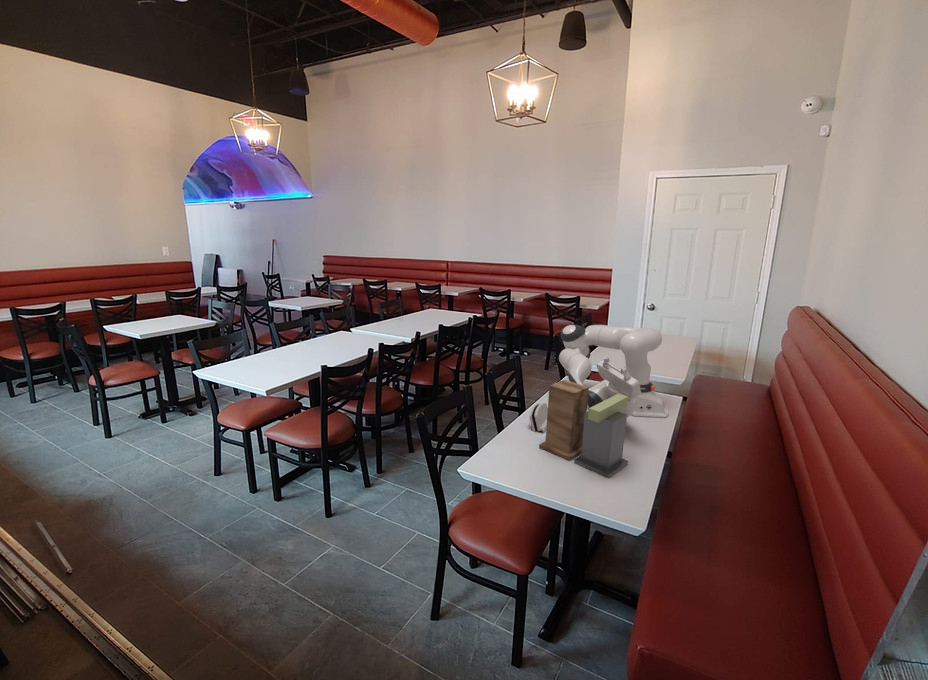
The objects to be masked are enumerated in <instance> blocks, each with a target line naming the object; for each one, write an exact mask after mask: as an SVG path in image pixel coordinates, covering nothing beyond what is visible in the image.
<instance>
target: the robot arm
mask: <svg viewBox="0 0 928 680" xmlns="http://www.w3.org/2000/svg"><path fill="white" fill-rule="evenodd" d="M560 338H561V341H562V342H563V343H562V344H563V345H564V349H563V350H561V352H559V355H558V361H559V362H560V364H561V365H562V367H563V368H564V370H566V371H567V372H568V374H567V378H568V381H570V382H573V383H577V384H580V385H584V384H583V383H584V381H586V379H587V378H588V377H590V374H591V372H592V370H593V369H592V362H591V360H590V358H591V353H592V352H591V349H590V347H589V346H597V347H598V348H599V347H600V348H606V349H610V350H616V351H618V350H620V351H621V352H622V354H623V355H624V360H625V367H624V366H623V367H621V368H620V369H619V368H617V367H615V366H614V365H612V364H611V363H610V361H611V360H610V358H609V357H607V356H605V357H603V359H602V360H600V361H599V362H597V364H596V368H597V371H598V374H599V376H600V377H601V379H603V380H601V381H599V383H597V384H595V385H594V386H591V387H589V391H588V402H587V411H589V408H591V407H593V406H595V405H597V404H599V403H601V402H603V401H605V400H607V399H609V398H611V397H613V396H615V395H617V394H621V395H625V396H628V404H627V407H626V408H624V409H622V410H620V411H618V412H621V413H624V414H627V418H628V417H630V416H634V417H644V418H645V417H646V418H649V417H650V418H667V417H668V416H669V410H668V409H667V407H666V406H665V405H664V400H663V398H662V397H661V396H660V395H659V394H658V393H656V392H655V390H656V387H655V385H654V384H653V383H652V381H650V379H651V378H650V377H651V372H652V371H651V369H652V367H651V365H650V363H649V360H648V353H650V352H652V351H655V350H656V349H658V348H659V347H660V346H661V344H662V342H663V336H662V335H661V332H660V331H658V330H657V329H656V328H655V329H654V328H647V327H646V328H645V327H630V326H629V327H628V326H627V327H625V326H623V327H622V326H616V325H615V326H614V325H606V324H592V325H588V326H587V327H586V328H585V327H584V326H583V325H578V324H571V323H570V324H568V325H565V326H564V327H563V328H562V329H561V330H560Z"/></svg>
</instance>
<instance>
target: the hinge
mask: <svg viewBox="0 0 928 680" xmlns="http://www.w3.org/2000/svg"><path fill="white" fill-rule="evenodd" d="M547 413H548V403H546V402H545V403H544V402H542V403H541V402H540V403H538V404H535V405H534V406H532V407H531V410H530V412H529V416H528V417H529V421H530V424H531V429H532V432H536V431H537V432H542V434H546V428H547Z"/></svg>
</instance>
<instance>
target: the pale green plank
mask: <svg viewBox="0 0 928 680" xmlns="http://www.w3.org/2000/svg"><path fill="white" fill-rule="evenodd" d="M627 404H628V396H625V395H621V394H617V395H615V396H613V397H611V398H609V399H607V400H605V401H603V402H601V403H599V404H597V405H595V406H593V407H591V408H589V410H588V411H589V413H588V419H589V420H592V421H595V422H598V423H599V422H600V421H602V420H604V419H606V418H608V417H609V416H611V415H613V414H615V413H617V412H618V411H620V410H622V409H624V408H626V407H627Z"/></svg>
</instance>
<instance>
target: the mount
mask: <svg viewBox="0 0 928 680" xmlns="http://www.w3.org/2000/svg"><path fill="white" fill-rule="evenodd" d="M588 413H589V410H587V412H586V413H585V419H584V430H583V441H582V453H581V454H580V455H579V456H577V457H575V458H574V459H573V460H574V462H573V464H574V465H576V466H579V467H582V468H584V469H586V470H589V471H590V472H593V473H596V474H598V475H600V476H603V477H605V478H607V479H610V478H612V477H613V476H614V475H616V474H617V473H618V472H619V471H621V470H622V469H623V468H625V467H626V466H628V464H629V460H628V459H625V458H623V454H624V444H625V437H626V429H627V428H626V427H627V419H628V417H627V414H624V413H621V412H617V413H615V414H613V415H611V416H609V417H608V418H606V419H604V420H602V421H600V422H599V423H598V422H595V421H592V420H589V419H588Z"/></svg>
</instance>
